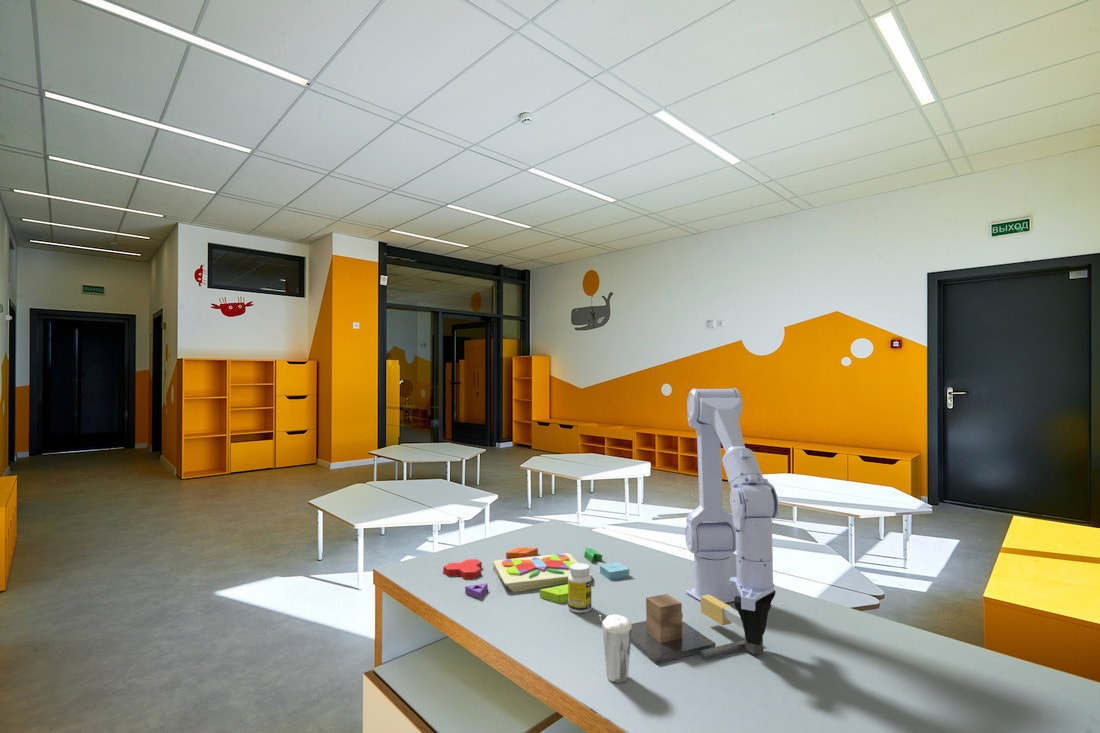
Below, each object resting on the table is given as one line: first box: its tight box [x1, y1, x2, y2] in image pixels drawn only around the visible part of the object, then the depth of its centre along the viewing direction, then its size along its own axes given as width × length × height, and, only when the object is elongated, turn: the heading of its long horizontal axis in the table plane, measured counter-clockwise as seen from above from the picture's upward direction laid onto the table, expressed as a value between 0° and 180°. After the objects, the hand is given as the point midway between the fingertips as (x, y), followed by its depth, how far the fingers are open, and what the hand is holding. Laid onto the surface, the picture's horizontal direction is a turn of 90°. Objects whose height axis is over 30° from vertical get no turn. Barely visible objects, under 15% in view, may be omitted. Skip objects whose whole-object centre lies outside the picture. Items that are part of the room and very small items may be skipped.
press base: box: [630, 620, 746, 665], centre depth 95 cm, size 20×14×1 cm
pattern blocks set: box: [442, 546, 630, 604], centre depth 127 cm, size 38×34×3 cm
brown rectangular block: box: [645, 593, 684, 643], centre depth 95 cm, size 6×4×6 cm
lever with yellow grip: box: [700, 595, 764, 655], centre depth 95 cm, size 2×14×6 cm, turn 23°
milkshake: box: [598, 614, 633, 684], centre depth 83 cm, size 5×5×10 cm
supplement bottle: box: [567, 562, 593, 614], centre depth 108 cm, size 5×5×8 cm
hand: (755, 637), depth 90 cm, fingers closed on lever with yellow grip, 3 cm apart
